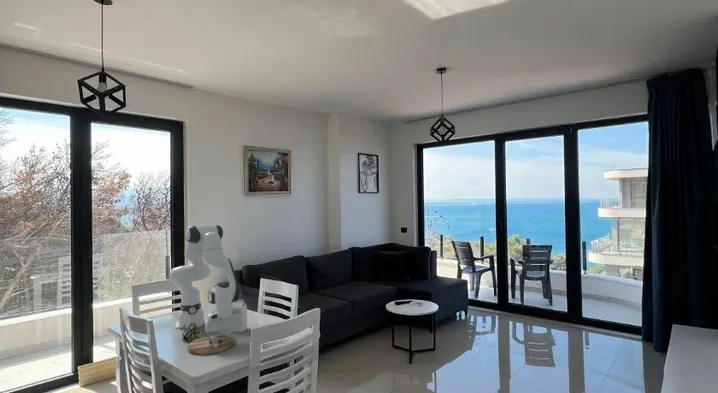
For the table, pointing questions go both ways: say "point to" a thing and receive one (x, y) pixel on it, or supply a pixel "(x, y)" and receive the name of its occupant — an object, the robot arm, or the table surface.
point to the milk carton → (243, 307)
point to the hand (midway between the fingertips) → (224, 337)
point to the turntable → (210, 345)
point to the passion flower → (190, 329)
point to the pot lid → (218, 338)
